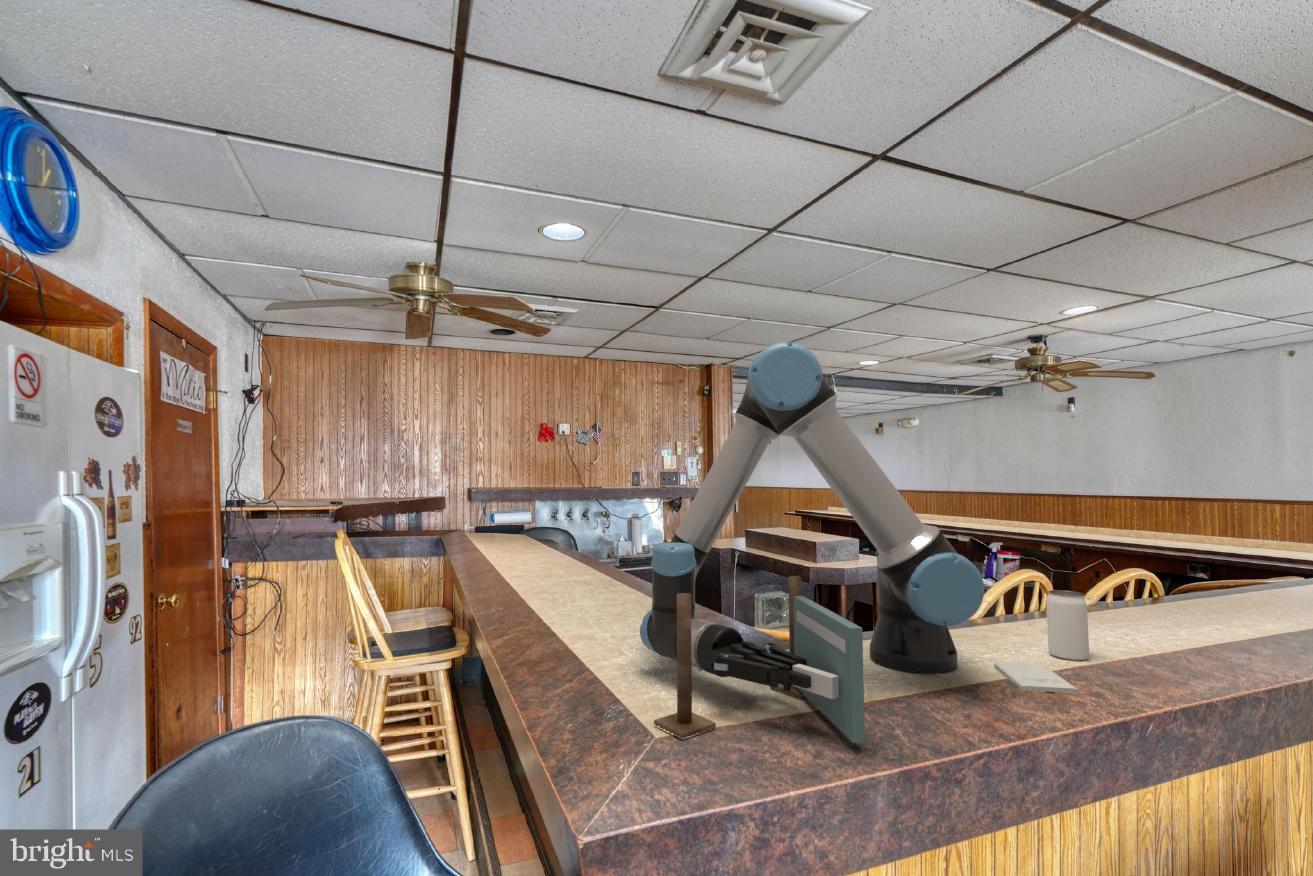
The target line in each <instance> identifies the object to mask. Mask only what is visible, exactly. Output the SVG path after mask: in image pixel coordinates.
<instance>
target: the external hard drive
mask: <svg viewBox="0 0 1313 876" xmlns="http://www.w3.org/2000/svg"><path fill="white" fill-rule="evenodd" d="M993 665H994V669H995V670H996V671H997V672H998V673H1000V674H1001V675H1002V676H1003V677H1005V678H1006V679H1007V680H1008V679H1009V680H1011V681H1012V682H1014V683H1015V684H1016V685H1017V686H1019V687H1020V688H1021V689H1022V690H1037V691H1041V692H1042V691H1043V692H1064V693H1069V694H1068V695H1070V694H1079V695H1080V691H1079V689H1078V688H1077V687H1075V686H1073V684H1071V683H1070V682H1068V681H1067V680H1065V679H1064V678H1063V677H1061V676H1060V675H1058V674H1056V673H1055V671H1052V670H1051V669H1050V668H1049V667H1047V666H1045V664H1042V663H1041V664H1040V663H1039V664H1038V663H1023V662H1022V663H1021V662H1002V661H999V662H997V661H996V662H994V664H993ZM1009 680H1008V681H1009ZM1012 682H1011V683H1012Z"/></svg>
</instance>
